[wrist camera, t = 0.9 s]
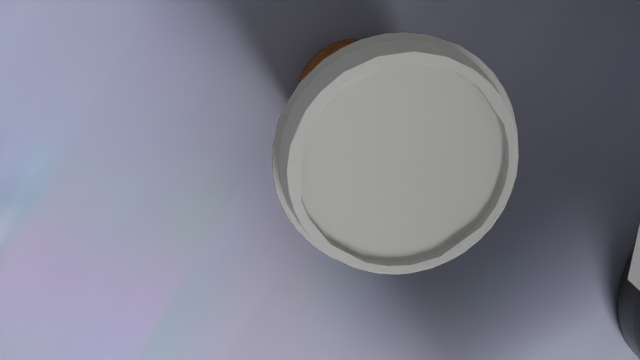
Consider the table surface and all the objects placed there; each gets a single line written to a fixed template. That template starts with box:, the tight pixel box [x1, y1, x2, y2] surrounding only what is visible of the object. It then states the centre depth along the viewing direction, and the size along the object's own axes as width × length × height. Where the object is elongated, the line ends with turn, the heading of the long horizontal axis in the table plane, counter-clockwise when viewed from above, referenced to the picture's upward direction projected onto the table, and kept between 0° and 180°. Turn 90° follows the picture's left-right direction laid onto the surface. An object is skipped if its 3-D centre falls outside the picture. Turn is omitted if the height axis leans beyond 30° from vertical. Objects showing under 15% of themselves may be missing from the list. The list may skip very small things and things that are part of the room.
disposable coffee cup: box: [272, 32, 519, 275], centre depth 28 cm, size 10×10×12 cm
